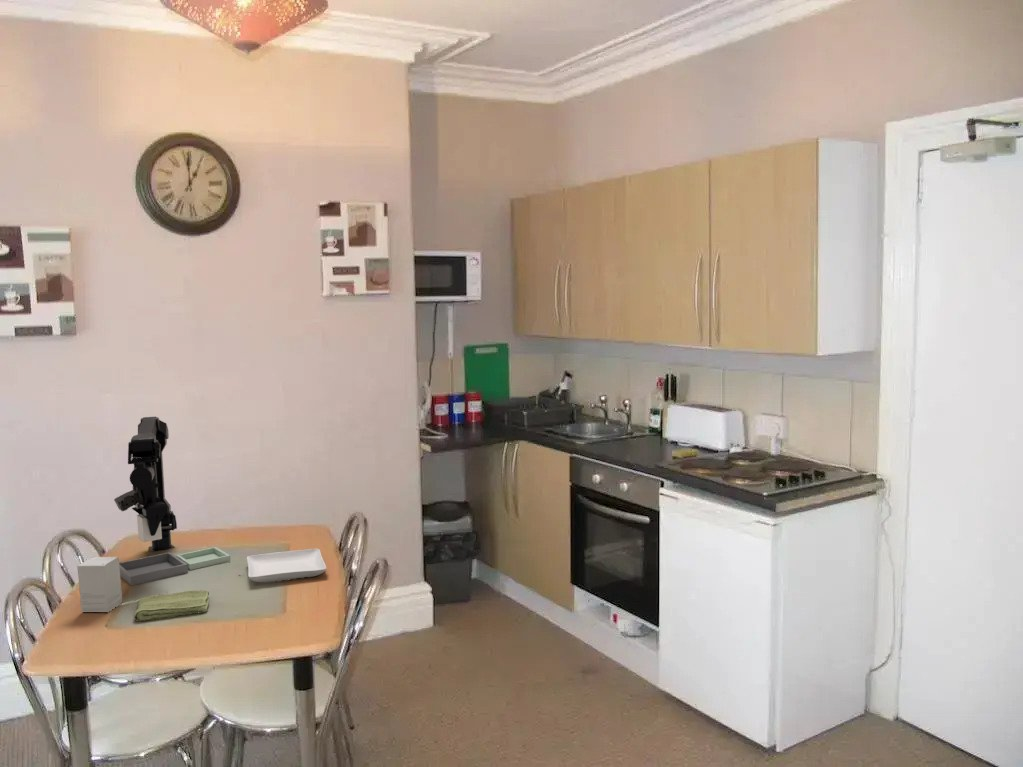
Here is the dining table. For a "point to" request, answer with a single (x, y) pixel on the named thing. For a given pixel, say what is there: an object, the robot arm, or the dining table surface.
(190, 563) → the holder
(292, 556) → the salad plate
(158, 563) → the gray square tray
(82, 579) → the supplement box
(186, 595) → the washcloth
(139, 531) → the block
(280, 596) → the dining table surface
